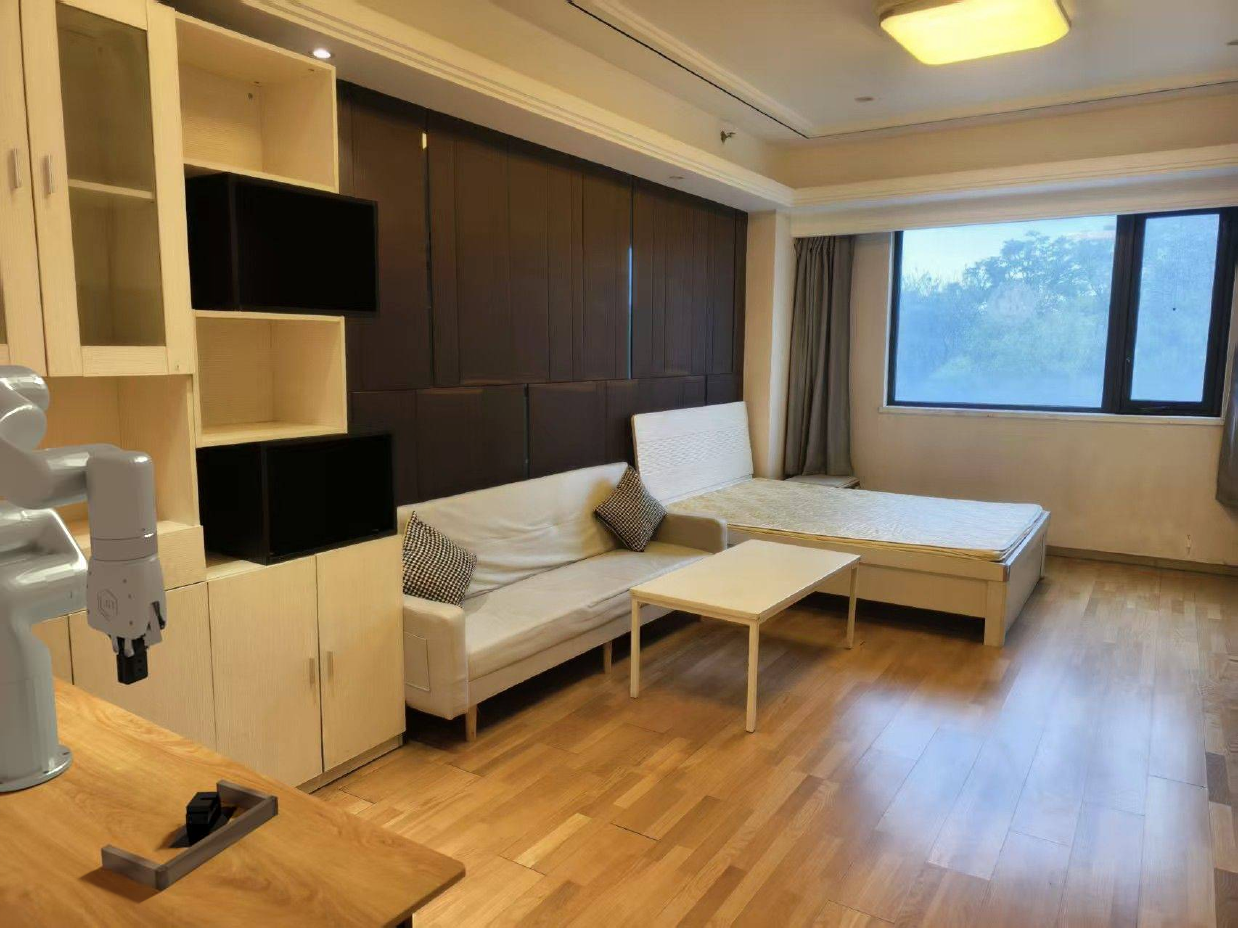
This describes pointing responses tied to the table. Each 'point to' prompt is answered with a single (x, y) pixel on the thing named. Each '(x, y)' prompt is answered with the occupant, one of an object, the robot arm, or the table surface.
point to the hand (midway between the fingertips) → (133, 679)
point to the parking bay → (204, 850)
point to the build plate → (202, 819)
